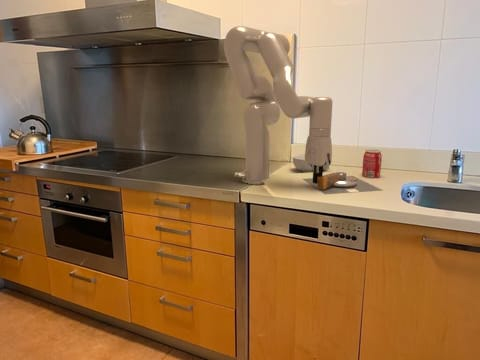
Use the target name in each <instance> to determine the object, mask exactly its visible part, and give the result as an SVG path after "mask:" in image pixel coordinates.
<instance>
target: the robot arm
mask: <svg viewBox="0 0 480 360" xmlns="http://www.w3.org/2000/svg"><path fill="white" fill-rule="evenodd" d="M290 44H291V43H290V41H289V39H288V37H286V36H285V35H283V34H279V33H276V32H269V31H264V30H260V29H257V28H253V27H248V26H244V25H243V26H242V25H237V26H234V27H232V28H231V29H229V31H228V32H227V33H226V35H225V38H224V43H223V50H224V51H223V52H224V55H225V57H226V60H227V63H228V66H229V68H230V71H231V74H232V76H233V81H234V83H235V86H236V89H237V92H238V94H239V96H240V98H241V99H242V100H244V101H255V102H251V103H249V104H248V105H247V106H246V107H245V108H244V110H243V113H242V114H243V115H242V119H243V123H244V124H243V126H244V131H245V133H244V134H245V169H244V168H243V170H242V171H236V172H234V173H233V174H234V178H241V181H242V182H243V183H244V184H247V183H248V185H255V186H256V185H259V186H260V185H265V182H264V181H266V180H269V179H270V150H271V149H270V148H271V147H270V132H269V128H268V126H271V125H274V124H276V123H277V122H279V120H280V117H281V111H282V113H283V114H284V115H285V116H286V117H288V118H289V119H293V120H294V119H300V118H308V117H309V125H308V127H309V129H308V135H307V138H306V142H305V151H304V154H305V161H306V162H307V163H308V165H310V166H311V167H312V172H311V173H312V178H313V183H315V184H317V183H318V177H319V176H324V172H325V171H326V170H330V166H331V164H332V160H333V159H332V158H333V145H332V137H331V132H332V121H333V120H332V118H333V99H332V98H331V97H329V96H328V97H327V96H315V97H313V96H305V95H298V94H297V93H296V91H295V88H294V87H293V84H292V81H291V80H292V79H291V76H292V74H293V72H294V71H295V66H294V64H293V62H292V60H291V58H290V57H289V56H290V55H289V52H290V51H291V50H290V49H291V45H290ZM246 52H252V53H257V54H260V55H261V58H262V59H263V61H264V63H265V66H266V67H267V69H268V71H269V73H270V75H271V77H272V81H273V83H272V82H271V81H270V80H269V79H268V78H267V77H265V76H262V75H257V73H256V72H255V69H254V66H253V63H252V61H251V59H250V58H249V56H248V55H247V53H246Z"/></svg>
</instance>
